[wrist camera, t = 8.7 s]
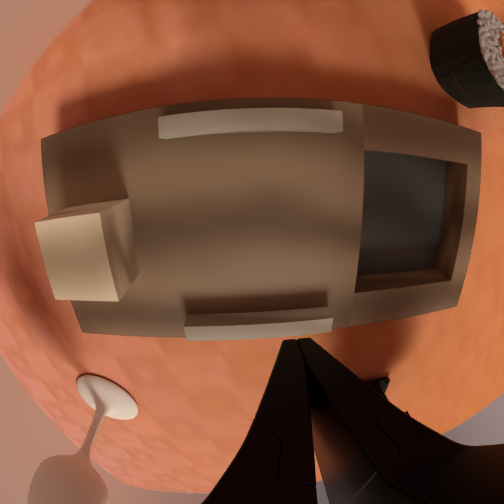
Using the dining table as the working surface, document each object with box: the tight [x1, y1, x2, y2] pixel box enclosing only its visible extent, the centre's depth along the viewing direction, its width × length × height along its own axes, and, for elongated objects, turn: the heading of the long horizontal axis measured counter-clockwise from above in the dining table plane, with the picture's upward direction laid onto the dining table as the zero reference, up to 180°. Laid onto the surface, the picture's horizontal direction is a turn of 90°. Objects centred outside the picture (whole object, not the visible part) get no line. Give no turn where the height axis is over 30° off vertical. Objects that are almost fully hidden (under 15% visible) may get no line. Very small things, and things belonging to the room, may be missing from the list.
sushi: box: [430, 9, 504, 108], centre depth 11 cm, size 8×8×8 cm
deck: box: [41, 98, 481, 341], centre depth 17 cm, size 16×34×4 cm, turn 92°
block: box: [35, 199, 141, 301], centre depth 15 cm, size 5×5×4 cm
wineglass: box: [28, 375, 138, 504], centre depth 17 cm, size 9×9×21 cm
